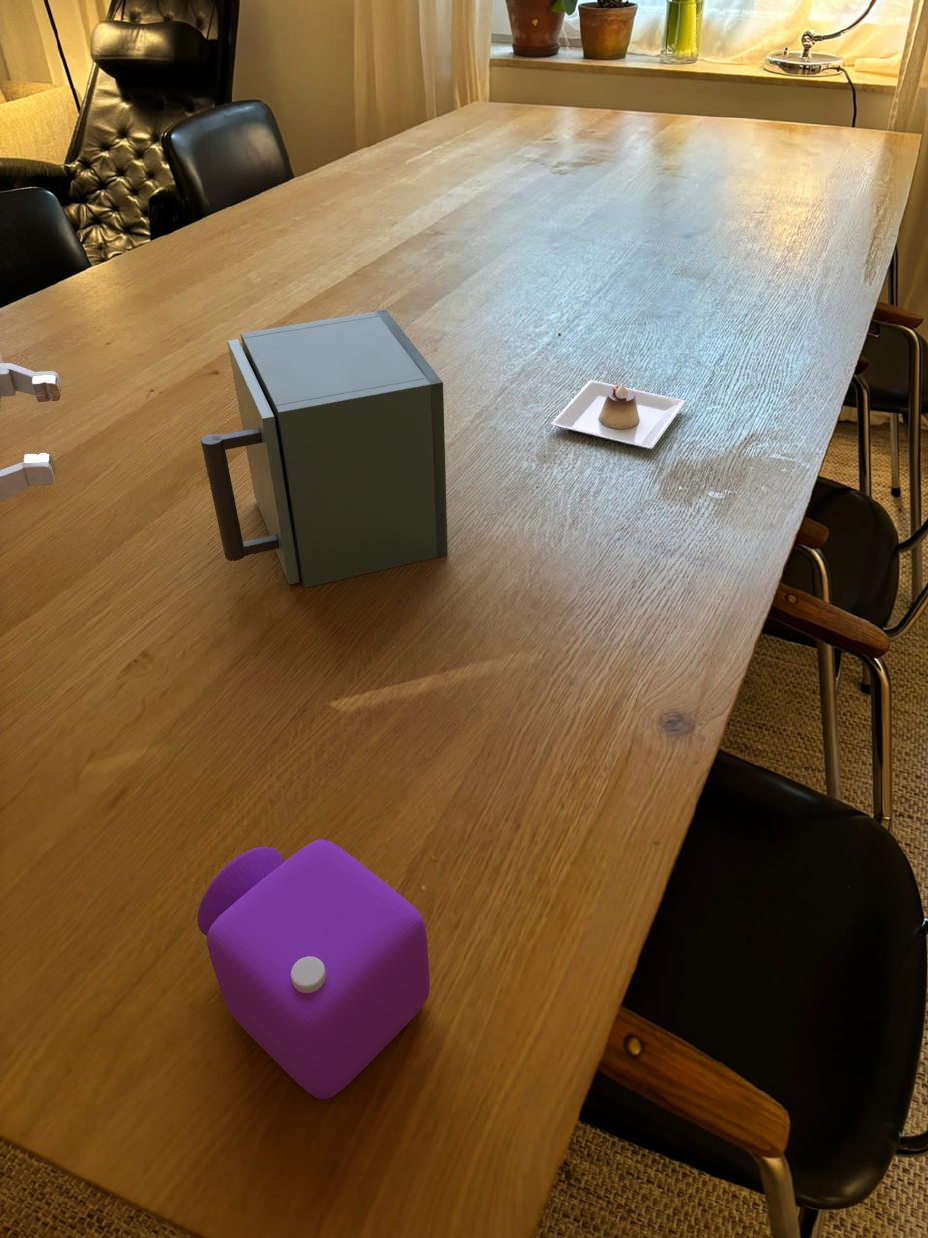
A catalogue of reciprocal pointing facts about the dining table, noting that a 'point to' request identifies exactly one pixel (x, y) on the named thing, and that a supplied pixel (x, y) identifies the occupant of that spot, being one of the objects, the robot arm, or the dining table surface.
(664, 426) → the dessert
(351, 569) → the housing
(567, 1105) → the dining table surface
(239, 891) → the toy camera
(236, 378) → the door
